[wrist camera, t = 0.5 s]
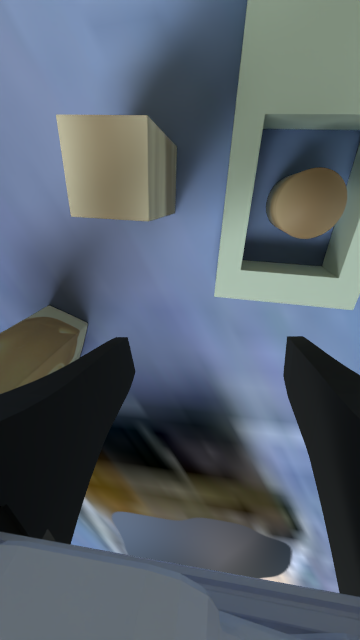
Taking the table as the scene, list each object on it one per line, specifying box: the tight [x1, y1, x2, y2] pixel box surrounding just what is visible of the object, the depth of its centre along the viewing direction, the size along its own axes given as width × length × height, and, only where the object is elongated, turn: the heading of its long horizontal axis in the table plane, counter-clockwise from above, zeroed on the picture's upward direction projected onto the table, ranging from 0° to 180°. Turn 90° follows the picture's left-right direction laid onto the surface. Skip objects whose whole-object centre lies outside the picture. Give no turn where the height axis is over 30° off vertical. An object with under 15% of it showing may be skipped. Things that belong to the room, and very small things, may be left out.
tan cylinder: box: [266, 168, 347, 239], centre depth 15 cm, size 3×3×4 cm
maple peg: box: [56, 115, 177, 221], centre depth 14 cm, size 4×4×7 cm
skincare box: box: [0, 306, 88, 394], centre depth 19 cm, size 6×4×12 cm
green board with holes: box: [214, 0, 360, 310], centre depth 12 cm, size 9×24×3 cm, turn 178°
